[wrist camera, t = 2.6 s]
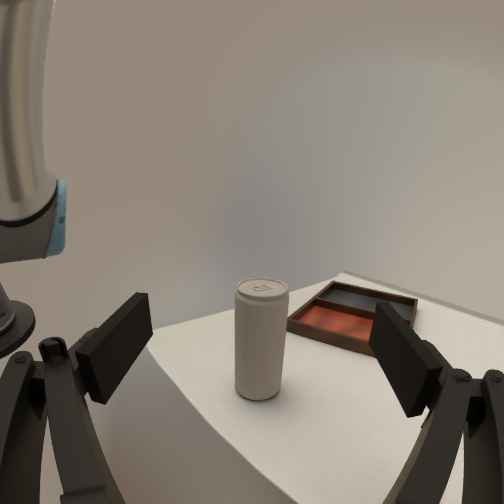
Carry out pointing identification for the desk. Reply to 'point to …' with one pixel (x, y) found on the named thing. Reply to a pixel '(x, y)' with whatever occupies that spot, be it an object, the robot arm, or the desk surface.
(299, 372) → the desk surface
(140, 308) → the robot arm
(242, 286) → the beverage can
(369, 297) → the sorting tray
